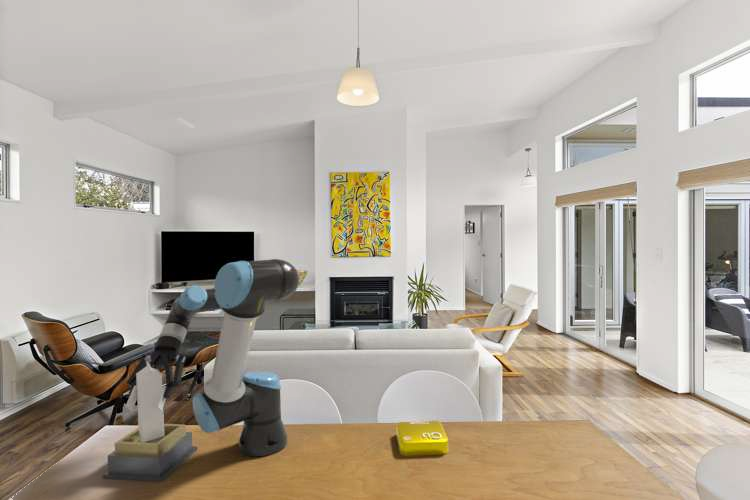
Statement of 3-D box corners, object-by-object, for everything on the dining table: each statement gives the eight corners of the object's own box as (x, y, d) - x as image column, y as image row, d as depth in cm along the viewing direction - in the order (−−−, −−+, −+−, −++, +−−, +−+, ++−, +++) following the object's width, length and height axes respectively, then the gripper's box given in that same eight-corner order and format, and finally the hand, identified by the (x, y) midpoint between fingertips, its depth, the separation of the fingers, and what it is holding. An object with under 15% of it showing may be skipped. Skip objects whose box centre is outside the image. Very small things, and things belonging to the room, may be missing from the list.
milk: (142, 443, 124) (138, 368, 123) (138, 435, 129) (135, 363, 128) (165, 436, 128) (161, 363, 127) (160, 429, 132) (157, 359, 131)
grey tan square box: (197, 449, 136) (196, 421, 135) (160, 482, 118) (159, 449, 118) (145, 446, 138) (144, 419, 138) (102, 478, 121) (101, 446, 120)
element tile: (440, 432, 144) (440, 418, 144) (449, 455, 129) (449, 439, 129) (396, 434, 144) (395, 420, 143) (400, 457, 129) (400, 441, 128)
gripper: (206, 346, 142) (183, 414, 126) (144, 346, 143) (115, 413, 128) (197, 334, 136) (173, 403, 121) (134, 334, 138) (102, 403, 122)
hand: (143, 408), depth 124 cm, fingers closed on milk, 8 cm apart
